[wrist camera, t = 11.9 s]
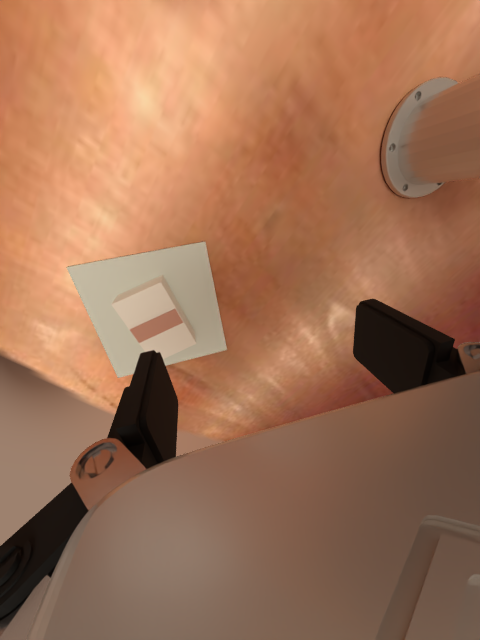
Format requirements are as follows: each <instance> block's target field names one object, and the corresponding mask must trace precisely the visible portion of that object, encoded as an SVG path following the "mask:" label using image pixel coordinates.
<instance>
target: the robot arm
mask: <svg viewBox="0 0 480 640" xmlns="http://www.w3.org/2000/svg"><path fill="white" fill-rule="evenodd" d="M381 165H382V171H383V175H384V178H385V180H386V183H387V184H388V186H389V187H390V189H391V190H392V191H393V192H394V193H396V194H397V195H399V196H401V197H406V198H418V197H423V196H426V195H428V194H431V193H432V192H434V191H436V190H437V189H439V188H440V187H441V186H442V185H443V184H444V183H445V182H451V181H460V180H469V179H479V178H480V74H478V75H475V76H473V77H471V78H469V79H467V80H464V81H462V82H460V83H458V82H457V81H455V80H453V79H450V78H447V77H438V78H434V79H430V80H428V81H426V82H424V83H422V84H420V85H419V86H417V87H416V88H414V89H413V90H411V91H410V92H409V93H408V94H407V95H406V96H405V97H404V98H403V99H402V101H401V102H400V103H399V105H398V106H397V107H396V109H395V111H394V113H393V114H392V116H391V118H390V120H389V123H388V125H387V128H386V130H385V134H384V138H383V142H382V150H381ZM454 341H455V339H453V338H451V337H449V336H447V335H445V334H443V333H441V332H439V331H437V330H435V329H433V328H431V327H429V326H427V325H425V324H423V323H421V322H419V321H417V320H415V319H413V318H411V317H409V316H407V315H405V314H403V313H401V312H400V311H398V310H396V309H394V308H392V307H390V306H388V305H386V304H384V303H382V302H380V301H378V300H376V299H369V300H365V301H361V302H360V303H359V305H358V306H357V307H356V318H355V332H354V346H353V354H354V357H355V358H356V359H357V360H358V361H359V362H360V363H361V364H362V365H363V366H364V367H366V368H367V369H368V370H369V371H370V372H371V373H372V374H373V375H374V376H375V377H376V378H378V379H379V380H380V381H381V382H382V383H383V384H384V385H385V386H386V387H387V388H388V389H390V390H391V391H392V392H393V393H394V394H391V395H387V396H383V397H380V398H376V399H372V400H369V401H365V402H362V403H358V404H354V405H351V406H347V407H344V408H340V409H337V410H333V411H329V412H326V413H322V414H319V415H315V416H312V417H308V418H305V419H301V420H298V421H294V422H291V423H287V424H284V425H280V426H277V427H273V428H270V429H266V430H263V431H259V432H256V433H252V434H249V435H245V436H242V437H239V438H235V439H232V440H228V441H225V442H221V443H218V444H215V445H212V446H208V447H205V448H202V449H199V450H195V451H192V452H190V453H186V454H183V455H180V456H177V457H176V440H177V419H178V399H177V396H176V393H175V390H174V388H173V385H172V382H171V380H170V377H169V374H168V372H167V369H166V366H165V364H164V361H163V358H162V355H161V353H160V352H157V353H156V352H155V350H151V351H147V352H143V353H140V356H139V359H138V362H137V365H136V368H135V371H134V374H133V378H132V381H131V384H130V386H129V387H126V388H125V389H124V391H123V394H122V397H121V400H120V403H119V406H118V408H117V411H116V414H115V417H114V420H113V423H112V426H111V429H110V432H109V435H108V437H107V439H102V440H100V441H98V442H95V443H94V444H92V445H91V446H89V447H88V448H87V449H85V451H83V452H82V453H81V454H80V455H79V456H78V458H77V459H76V460H75V462H74V464H73V466H72V468H71V471H70V479H71V482H72V483H71V484H70V485H68V486H67V487H66V488H65V489H64V490H63V491H62V492H61V493H59V494H58V495H57V496H56V497H55V498H54V499H53V500H52V501H51V502H49V503H48V504H47V505H46V506H45V507H44V508H43V509H41V510H40V511H39V512H38V513H37V514H36V515H35V516H34V517H33V518H32V519H30V520H29V521H28V522H27V523H26V524H25V525H24V526H23V527H21V528H20V529H19V530H18V531H17V532H16V533H15V534H14V535H13V536H12V537H10V538H9V539H8V540H7V541H6V542H5V543H3V545H1V546H0V640H480V343H479V342H468V343H463V344H461V345H460V346H459V347H458V349H456V348H454V347H453V344H454Z"/></svg>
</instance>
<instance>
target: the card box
mask: <svg viewBox="0 0 480 640" xmlns="http://www.w3.org/2000/svg"><path fill="white" fill-rule="evenodd" d="M111 305H112V306H113V308H114V309H115V311H116V312H117V313H118V315H119V316H120V318H121V319H122V320H123V322H124V323H125V325H126V326H127V327H128V329H129V330H130V332H131V333H132V334H133V336H134V337H135V339H136V340H137V341H138V343H139V344H140V346H141V347H142V348H143V350H144V351H145V352H147V351H151V350H155V352H156V353H157V352H160V353H161V355H162V358H163V359H165V358H167V357H169V356H171V355H173V354H175V353H178V352H180V351H182V350H184V349H186V348H188V347H190V346H192V345H195V344H196V338H195V332H194V330H193V328H192V326H191V325H190V323H189V321H188V319H187V317H186V316H185V314H184V312H183V310H182V309H181V307H180V305H179V303H178V301H177V300H176V298H175V296H174V294H173V292H172V291H171V289H170V287H169V285H168V284H167V282H166V280H165V278H164V276H163V275H161V276H159V277H156V278H154V279H152V280H150V281H148V282H145V283H143V284H141V285H139V286H137V287H134V288H132V289H130V290H128V291H125V292H123V293H121V294H119V295H118V296H117V297H116V298H115V300H114V301H113V303H112V304H111Z"/></svg>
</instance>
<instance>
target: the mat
mask: <svg viewBox="0 0 480 640" xmlns="http://www.w3.org/2000/svg"><path fill="white" fill-rule="evenodd" d="M67 269H68V272H69V274H70V276H71V278H72V280H73V282H74V284H75V287H76V289H77V291H78V293H79V295H80V297H81V299H82V302H83V304H84V306H85V308H86V310H87V312H88V315H89V317H90V319H91V321H92V323H93V325H94V327H95V330H96V332H97V334H98V336H99V338H100V340H101V342H102V345H103V347H104V349H105V351H106V353H107V355H108V357H109V360H110V362H111V364H112V366H113V368H114V370H115V372H116V375H117V377H118V378H119V377H123V376H127V375H131V374H134V371H135V368H136V365H137V362H138V359H139V356H140V353H143V352H145V351H144V350H143V348H142V347H141V346H140V344H139V343H138V341H137V340H136V339H135V337H134V336H133V334H132V333H131V332H130V330H129V329H128V327H127V326H126V325H125V323H124V322H123V320H122V319H121V318H120V316H119V315H118V313H117V312H116V311H115V309H114V308H113V306H112V305H111V304H112V303H113V301H114V300H115V298H116V297H117V296H118V295H119V294H121V293H123V292H125V291H128V290H130V289H132V288H134V287H137V286H139V285H141V284H143V283H145V282H148V281H150V280H152V279H154V278H156V277H159V276H161V275H163V276H164V278H165V280H166V282H167V284H168V285H169V287H170V289H171V291H172V292H173V294H174V296H175V298H176V300H177V301H178V303H179V305H180V307H181V309H182V310H183V312H184V314H185V316H186V317H187V319H188V321H189V323H190V325H191V326H192V328H193V330H194V332H195V338H196V344H195V345H192V346H190V347H188V348H186V349H184V350H182V351H180V352H178V353H175V354H173V355H171V356H169V357H167V358H165V359H163V361H164V364H165V366H166V365H170V364H174V363H178V362H182V361H185V360H189V359H193V358H197V357H201V356H205V355H209V354H213V353H217V352H220V351H224V350H227V347H226V342H225V337H224V332H223V327H222V322H221V318H220V313H219V308H218V303H217V298H216V293H215V288H214V283H213V278H212V273H211V268H210V263H209V258H208V253H207V248H206V243H205V241H204V242H198V243H193V244H187V245H182V246H177V247H171V248H166V249H160V250H155V251H149V252H144V253H138V254H133V255H128V256H122V257H117V258H111V259H106V260H100V261H95V262H90V263H84V264H79V265H73V266H68V267H67Z"/></svg>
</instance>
